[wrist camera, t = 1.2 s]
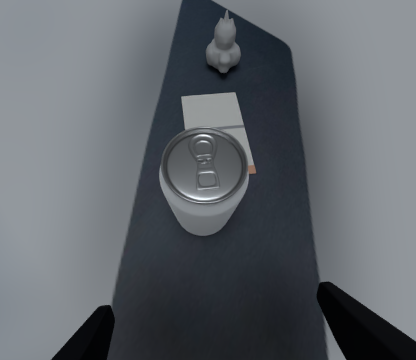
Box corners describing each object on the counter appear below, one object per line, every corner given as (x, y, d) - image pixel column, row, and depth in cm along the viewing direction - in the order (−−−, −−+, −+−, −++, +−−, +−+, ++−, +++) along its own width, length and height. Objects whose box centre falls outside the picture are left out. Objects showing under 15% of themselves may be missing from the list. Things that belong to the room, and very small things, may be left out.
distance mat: (255, 173, 26) (256, 173, 26) (191, 181, 25) (191, 180, 25) (235, 92, 31) (235, 92, 31) (181, 97, 30) (181, 96, 30)
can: (225, 181, 25) (244, 117, 14) (233, 233, 23) (265, 204, 12) (174, 186, 25) (152, 124, 14) (177, 240, 22) (154, 217, 11)
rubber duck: (236, 55, 35) (245, -1, 27) (239, 82, 32) (250, 28, 25) (205, 54, 34) (206, -2, 27) (206, 82, 32) (208, 27, 25)
